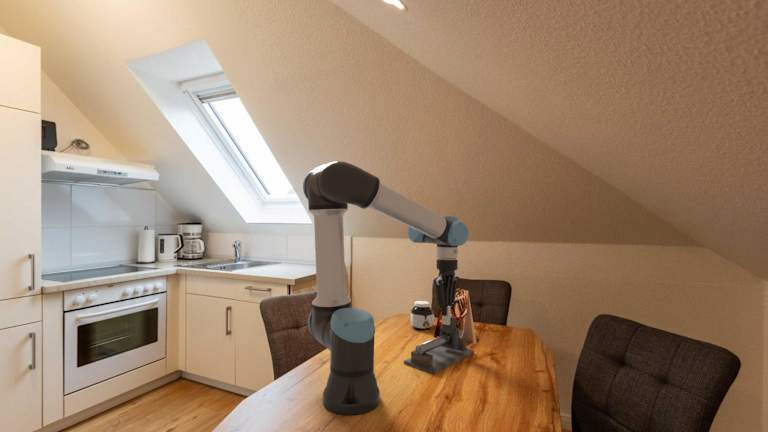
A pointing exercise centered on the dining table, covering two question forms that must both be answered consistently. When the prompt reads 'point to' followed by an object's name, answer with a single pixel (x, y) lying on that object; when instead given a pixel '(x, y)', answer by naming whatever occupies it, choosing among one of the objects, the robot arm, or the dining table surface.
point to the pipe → (435, 343)
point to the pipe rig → (438, 357)
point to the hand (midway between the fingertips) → (446, 323)
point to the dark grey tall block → (451, 330)
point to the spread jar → (422, 316)
